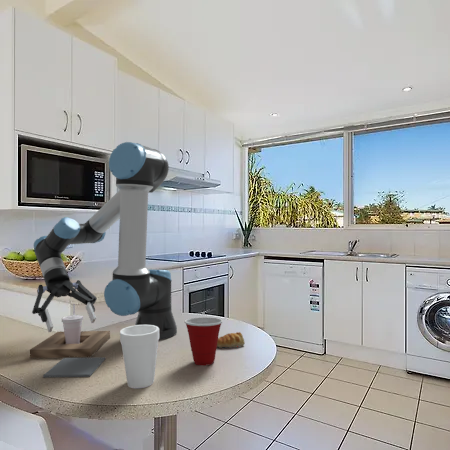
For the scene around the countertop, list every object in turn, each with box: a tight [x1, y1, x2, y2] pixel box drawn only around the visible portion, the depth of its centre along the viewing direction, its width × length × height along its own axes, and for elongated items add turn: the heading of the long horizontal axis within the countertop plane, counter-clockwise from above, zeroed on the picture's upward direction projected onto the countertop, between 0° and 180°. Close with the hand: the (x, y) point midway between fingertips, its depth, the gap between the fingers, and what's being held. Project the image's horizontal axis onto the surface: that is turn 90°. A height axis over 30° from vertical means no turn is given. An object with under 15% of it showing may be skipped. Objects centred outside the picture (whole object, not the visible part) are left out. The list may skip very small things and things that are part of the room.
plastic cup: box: [184, 316, 223, 367], centre depth 102 cm, size 11×11×12 cm
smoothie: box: [61, 303, 84, 344], centre depth 116 cm, size 6×6×14 cm
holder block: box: [29, 330, 111, 359], centre depth 116 cm, size 18×18×2 cm
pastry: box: [217, 331, 246, 349], centre depth 116 cm, size 9×7×4 cm
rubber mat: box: [42, 356, 106, 378], centre depth 99 cm, size 12×12×1 cm
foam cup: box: [119, 324, 160, 389], centre depth 89 cm, size 10×9×13 cm
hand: (73, 325), depth 115 cm, fingers open, 13 cm apart
